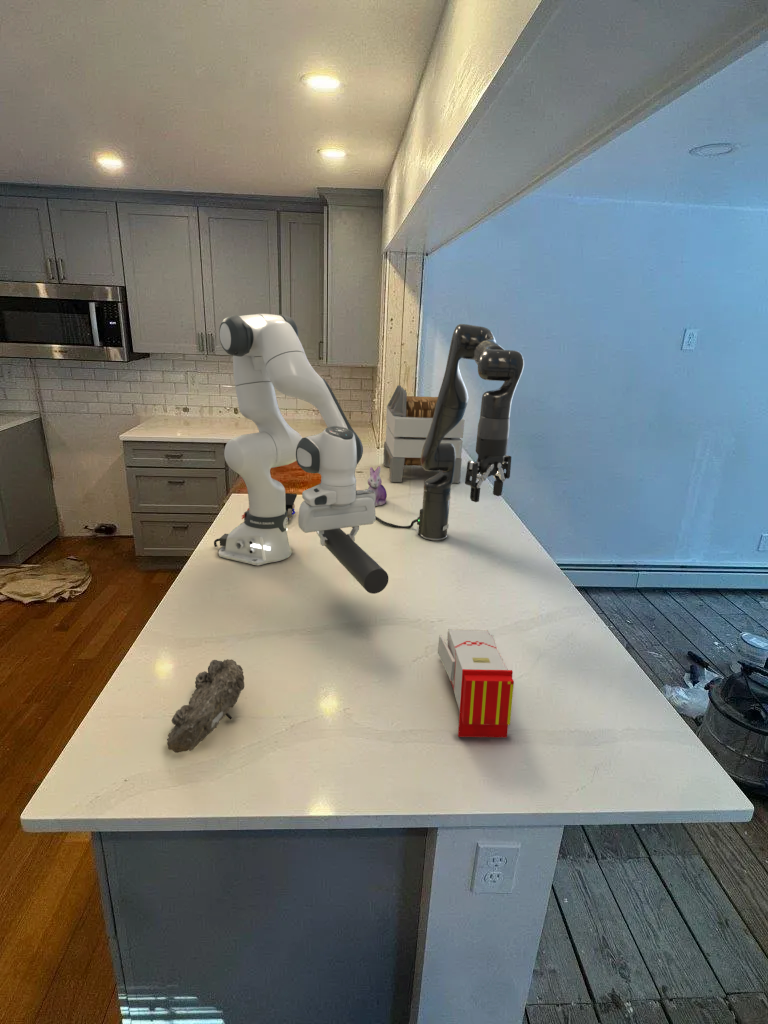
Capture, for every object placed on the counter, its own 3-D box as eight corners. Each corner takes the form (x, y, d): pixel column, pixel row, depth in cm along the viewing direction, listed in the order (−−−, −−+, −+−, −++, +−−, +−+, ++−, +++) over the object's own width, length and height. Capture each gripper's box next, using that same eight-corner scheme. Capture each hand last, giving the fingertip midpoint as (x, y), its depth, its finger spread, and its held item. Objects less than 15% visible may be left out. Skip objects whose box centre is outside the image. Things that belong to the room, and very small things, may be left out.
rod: (387, 591, 130) (389, 567, 128) (363, 595, 127) (364, 571, 125) (342, 545, 153) (342, 524, 151) (321, 548, 150) (321, 527, 148)
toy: (488, 613, 130) (523, 677, 101) (484, 667, 133) (517, 744, 104) (435, 612, 130) (455, 676, 101) (432, 666, 133) (451, 743, 103)
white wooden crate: (382, 463, 289) (386, 382, 275) (445, 464, 293) (451, 384, 279) (390, 482, 257) (394, 392, 243) (460, 483, 261) (468, 394, 247)
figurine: (371, 508, 224) (372, 471, 219) (360, 500, 232) (361, 464, 227) (392, 505, 228) (394, 469, 223) (380, 497, 236) (382, 462, 231)
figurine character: (292, 528, 204) (297, 509, 217) (292, 509, 201) (297, 491, 214) (274, 527, 204) (280, 509, 217) (273, 508, 200) (279, 491, 214)
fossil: (192, 660, 117) (244, 628, 112) (224, 691, 120) (276, 661, 115) (142, 746, 98) (202, 712, 93) (182, 779, 101) (242, 748, 96)
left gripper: (370, 485, 150) (368, 533, 154) (295, 492, 141) (296, 543, 146) (381, 492, 144) (378, 542, 149) (304, 500, 136) (304, 553, 140)
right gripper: (499, 429, 145) (492, 489, 150) (461, 435, 136) (455, 499, 141) (523, 434, 139) (515, 497, 145) (485, 441, 130) (478, 507, 136)
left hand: (337, 543), depth 147 cm, fingers closed on rod, 6 cm apart
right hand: (485, 498), depth 143 cm, fingers open, 8 cm apart
